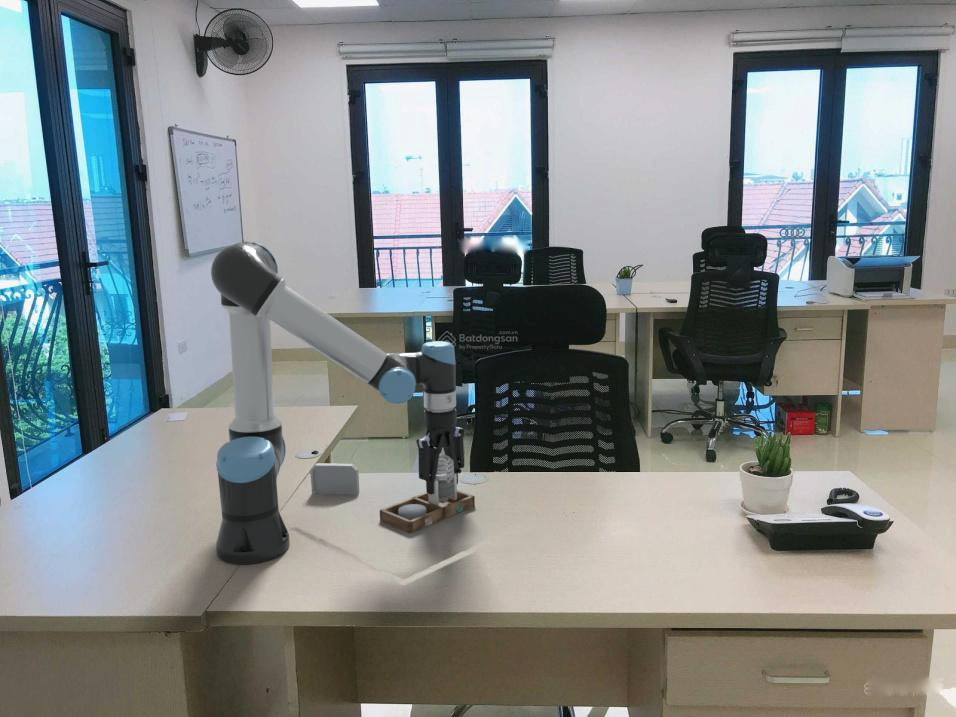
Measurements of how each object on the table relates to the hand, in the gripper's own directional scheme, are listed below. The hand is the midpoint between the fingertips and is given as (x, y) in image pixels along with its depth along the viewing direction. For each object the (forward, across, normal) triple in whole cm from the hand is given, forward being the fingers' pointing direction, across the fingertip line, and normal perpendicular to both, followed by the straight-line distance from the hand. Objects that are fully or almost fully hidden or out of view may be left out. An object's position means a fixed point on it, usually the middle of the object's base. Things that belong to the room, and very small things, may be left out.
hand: (442, 501), depth 184 cm
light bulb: (0, 0, 0) cm, 0 cm away
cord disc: (+1, -10, 0) cm, 10 cm away
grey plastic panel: (+3, -10, +29) cm, 31 cm away
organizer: (+2, -5, 0) cm, 5 cm away
